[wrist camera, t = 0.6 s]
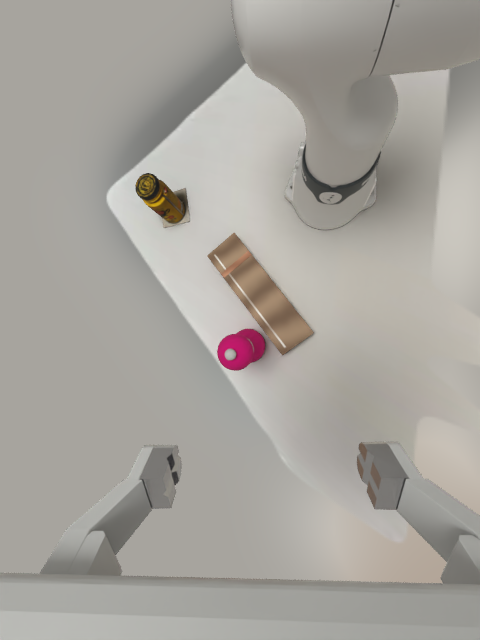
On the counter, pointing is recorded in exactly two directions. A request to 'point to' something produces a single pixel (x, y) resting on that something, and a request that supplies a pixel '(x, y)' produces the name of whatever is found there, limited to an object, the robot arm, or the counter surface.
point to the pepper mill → (241, 349)
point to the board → (259, 294)
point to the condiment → (163, 200)
